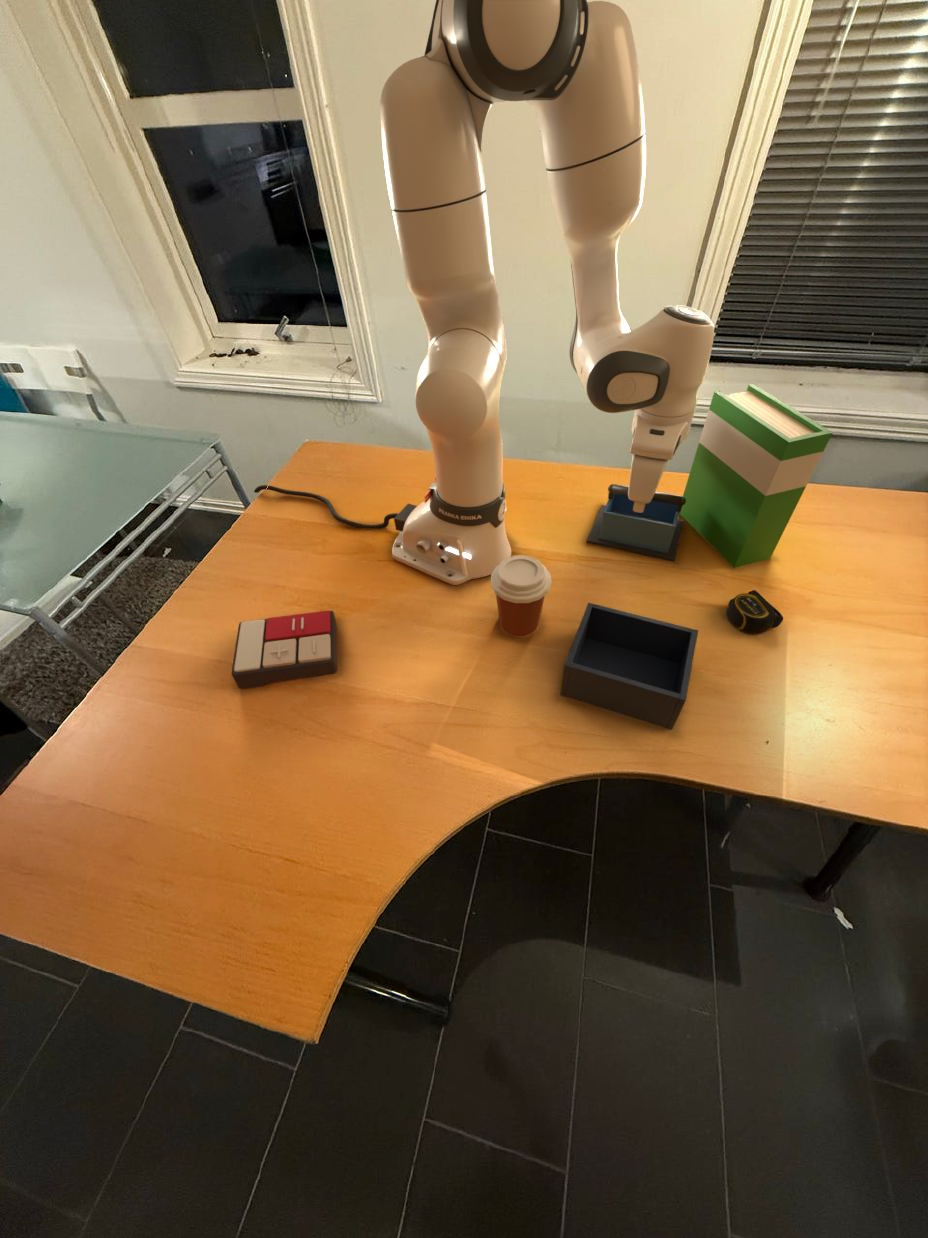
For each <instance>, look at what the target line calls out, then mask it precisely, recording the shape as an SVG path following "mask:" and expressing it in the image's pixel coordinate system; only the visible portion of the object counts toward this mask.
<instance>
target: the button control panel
mask: <svg viewBox="0 0 928 1238" xmlns="http://www.w3.org/2000/svg"><path fill="white" fill-rule="evenodd" d="M237 628H238V629H237V633H236V634H237V635H236V642H235V647H234V654H233V655H234V656H233V660H232V667H231V676H232V678H233V680H234V682H235V685H236V686H237V687H238V689H239V690H240V689H250V688H256V687H257V688H258V687H263V686H265V685H266V684H269V683H274V682H281V681H287V680H288V681H289V680H295V679H303V678H308V677H310V678H311V677H316V676H323V675H330V674H336V673H337V672H338V635H337V634H338V631H337V630H338V629H337V620H336V616H335V613H334V611H333V610H320V611H312V612H311V611H310V612H305V613H295V614H289V615H281V616H280V615H279V616H272V617H268V618H260V619H253V620H252V619H251V620H246V621H240V622H239V623H238V627H237Z"/></svg>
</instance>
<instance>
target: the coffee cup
mask: <svg viewBox="0 0 928 1238" xmlns="http://www.w3.org/2000/svg"><path fill="white" fill-rule="evenodd" d="M551 576H552V575H551V573H550V572H549V570H548V568H546V566H545V565H544V564H543V563H542V562H541V561H540V559H537V558H535V557H534V556H529V555H526V554H515V555H511V557H508V558H506V559H505V560H503V561H502V562H501V563H500V565H498V566H497V567H496V568H495V569H494V571H493V573H492V574H491V575H490V588H491V589H492V590H493V592H494V594H495V597H496V603H497V604H496V605H497V614H498V623H499V627H500V628H501V630H502V631H503V632H504V633H506V634H507V635H509V636H511V637H514V638H524V637H528V636H531V635H532V634H534V633H535V632H537V629H538V628H539V625H540V622H541V621H540V620H541V618H542V617H541V616H542V612H543V611H542V610H543V606H544V601H545V598H546V597H545V596H546V595H547V594H548V593H549V591H550V589H551V588H552V587H551V586H552V577H551Z"/></svg>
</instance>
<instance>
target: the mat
mask: <svg viewBox="0 0 928 1238" xmlns="http://www.w3.org/2000/svg"><path fill="white" fill-rule="evenodd" d="M605 507H606V505H603V504H601V506H600V507H599V511H598V513H597V515H596V517H595V520H594V522H593V525H592V527H591V529H590V532H589V534H588V536H587V539H586V544H591V545H594V546H599V547H602V548H603V547H604V548H609V549H614V550H618V551H621V552H626V553H632V554H636V555H641V556H644V557H650V558H654V559H658V560H663V561H668V562H671V563H674V562H675V561H676V558H677V554H678V550H679V549H678V548H679V546H680V545H679V544H680V541H681V537H682V533H683V530H684V529H683V528H684V524H685V520H681V519H678V521H677V525H676V528H675V531H674V535H673V538H672V541H671V545H670V548H669V551H668V553H665V552H660V551H655V550H650V549H646V548H641V547H636V546H632V545H627V544H622V543H617V542H613V541H608V540H603V539H599V534H600V528H601V522H602V517H603V512H604V509H605Z"/></svg>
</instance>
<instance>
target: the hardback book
mask: <svg viewBox="0 0 928 1238" xmlns="http://www.w3.org/2000/svg"><path fill="white" fill-rule="evenodd" d="M833 434H834V432H833V431H831V429H828V428H827V427H825V426H823V425H822V424H820V423H819V422H817V421H815V420H813V419H812V418H810V417H809V416H807V415H805V414H803V413H802V412H800V411H799V410H797V409H796V408H794V407H792V406H790V405H789V404H788V403H786V402H784V401H782V400H781V399H779V398H778V397H776V396H774V395H773V394H771V393H770V392H768V391H766V390H764V389H763V388H761V387H760V386H758V385H756V384H755V383H750V384H748V385H747V389H746V390H745V391H744V390H743V391H740V392H735V393H730V394H725V393H723V392H722V391H720V390H715V391H713V395H712V398H711V401H710V404H709V408H708V411H707V414H706V418H705V421H704V425H703V428H702V430H701V434H700V437H699V441H698V444H697V447H696V451H695V454H694V458H693V461H692V465H691V468H690V471H689V474H688V478H687V481H686V484H685V488H684V491H683V495H682V496H683V497H684V498H685V499H686V503H685V504H684V505H683V506H682V509H681V512H680V513H679V515H681V517H682V518H683V519H684V520H686V522H687V523H688V524H689V525H690V526H691V527H692V528H693V529H694V530H695V531H696V532H697V533H698V534H699V535H700V536H701V537H702V538H703V539H704V540H705V541H706V542H707V543H708V544H709V545H710V546H711V547H712V548H713V549H714V550H715V551H716V552H717V553H718V554H719V555H720V556H721V557H722V558H723V559H724V560H725V561H726V562H727V563H728V564H729V565H730V566H731V567H732V568H733V569H737V568H740V567H744V566H748V565H752V564H756V563H758V562H762V561H767V560H770V559H771V558H772V557H773V554H774V552H775V550H776V549H777V546H778V544H779V542H780V540H781V537H782V535H783V534H784V532H785V530H786V528H787V526H788V524H789V522H790V520H791V518H792V516H793V514H794V512H795V510H796V507H797V505H798V504H799V502H800V500H801V498H802V496H803V494H804V491H805V489H806V488H807V486H808V484H809V481H810V479H812V475H813V474H814V471H815V470H816V467H817V465H818V463H819V461H820V460H821V457H822V456H823V454H824V451H825V450H826V447H827V446H828V443H829V441H830V439H831V437H832V435H833Z"/></svg>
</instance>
